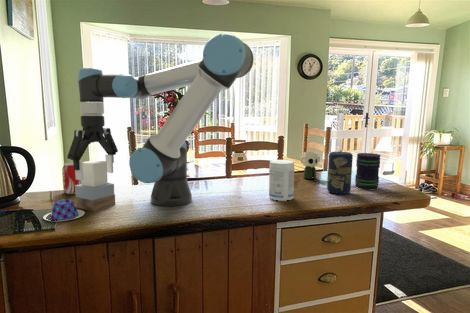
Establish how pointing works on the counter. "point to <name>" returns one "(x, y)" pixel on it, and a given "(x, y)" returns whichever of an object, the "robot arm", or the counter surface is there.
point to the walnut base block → (95, 203)
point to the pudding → (64, 211)
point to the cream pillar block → (94, 173)
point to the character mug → (310, 164)
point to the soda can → (69, 178)
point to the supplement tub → (281, 180)
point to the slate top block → (94, 191)
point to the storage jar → (367, 170)
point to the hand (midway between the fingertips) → (95, 175)
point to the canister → (339, 172)
